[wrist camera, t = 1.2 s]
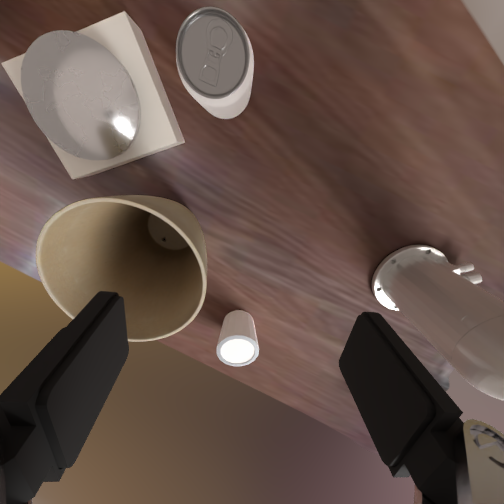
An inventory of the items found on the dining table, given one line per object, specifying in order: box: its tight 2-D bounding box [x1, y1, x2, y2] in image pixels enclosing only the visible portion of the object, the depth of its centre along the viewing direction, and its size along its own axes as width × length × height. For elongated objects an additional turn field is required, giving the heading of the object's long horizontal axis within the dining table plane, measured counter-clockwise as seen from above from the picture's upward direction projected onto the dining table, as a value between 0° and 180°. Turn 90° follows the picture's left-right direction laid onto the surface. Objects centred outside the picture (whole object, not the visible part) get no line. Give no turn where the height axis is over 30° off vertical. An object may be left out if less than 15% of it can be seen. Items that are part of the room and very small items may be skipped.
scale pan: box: [21, 30, 141, 160], centre depth 24 cm, size 11×11×2 cm
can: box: [176, 7, 254, 119], centre depth 23 cm, size 6×6×12 cm
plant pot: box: [36, 195, 207, 342], centre depth 28 cm, size 15×15×16 cm
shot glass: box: [217, 310, 259, 366], centre depth 41 cm, size 7×7×7 cm
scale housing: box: [1, 11, 185, 180], centre depth 27 cm, size 14×12×4 cm
